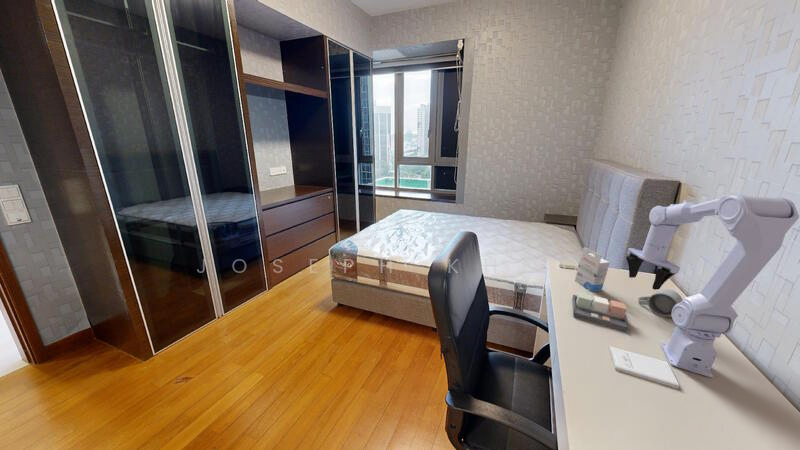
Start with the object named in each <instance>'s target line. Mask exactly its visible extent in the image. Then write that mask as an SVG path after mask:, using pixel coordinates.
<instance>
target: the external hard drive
mask: <svg viewBox="0 0 800 450" xmlns="http://www.w3.org/2000/svg"><path fill="white" fill-rule="evenodd" d="M608 353H609V355H610V357H611V361H612V365H613V369H614V370H615V371H619V372H621V373H624V374H629V375H632V376H635V377H638V378H641V379H645V380H649V381H652V382H654V383H658V384H660V385H665V386H668V387H671V388H674V389H679V388H680V384H679V382H678V380H677V378H676V376H675V374H674V373H673V370H672V368H671V367H670V365H669V363H668V362H667V361H664V360H660V359H657V358H653V357H650V356H645V355H642V354H639V353H636V352H632V351H627V350H624V349H619V348H617V347H614V346H608Z"/></svg>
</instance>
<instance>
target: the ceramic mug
mask: <svg viewBox="0 0 800 450" xmlns="http://www.w3.org/2000/svg"><path fill="white" fill-rule="evenodd" d="M682 300H683V298H682V296H681V295H680V293H678V292H677V291H675V290H673V289H669V288H668V289H667V288H663V289H658V290H657V291H656V292H654V293H653V294H651V295H649V296H648V295H647V296H641V297H638V298H637V301H638V304H640V305H644V306H648V308H649V310H650V311H651V312H653V313H654V314H656V315H658V316H661V317H672V315H671V313H672V309H673V307H674V306H675V305H676V304H678V303H680V302H682Z"/></svg>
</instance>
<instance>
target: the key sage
mask: <svg viewBox="0 0 800 450" xmlns="http://www.w3.org/2000/svg"><path fill="white" fill-rule="evenodd" d="M576 302H577V306H580V307H584V308H588V309H590V306H591V302H592V295H591V294H588V293H584V292H580V291H578V293H577V300H576Z"/></svg>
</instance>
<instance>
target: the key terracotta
mask: <svg viewBox="0 0 800 450" xmlns="http://www.w3.org/2000/svg"><path fill="white" fill-rule="evenodd" d="M608 310H609V314H610V315H614V316H617V317H621V318H624V315H626V312H627V307H626V305H625V303H624V302H621V301H616V300H614V299H613V300H610V301H609V307H608Z"/></svg>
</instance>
